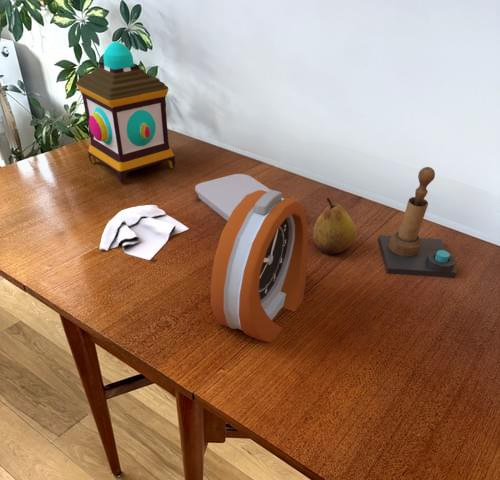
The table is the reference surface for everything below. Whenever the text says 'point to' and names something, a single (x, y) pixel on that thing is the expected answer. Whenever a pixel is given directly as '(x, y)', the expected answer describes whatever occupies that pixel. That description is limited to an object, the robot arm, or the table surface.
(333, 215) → the fruit
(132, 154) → the decorative lantern
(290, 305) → the alarm clock
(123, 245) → the cloth
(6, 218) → the table surface
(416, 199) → the mortar and pestle
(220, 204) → the tablet
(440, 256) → the button
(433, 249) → the kitchen scale
